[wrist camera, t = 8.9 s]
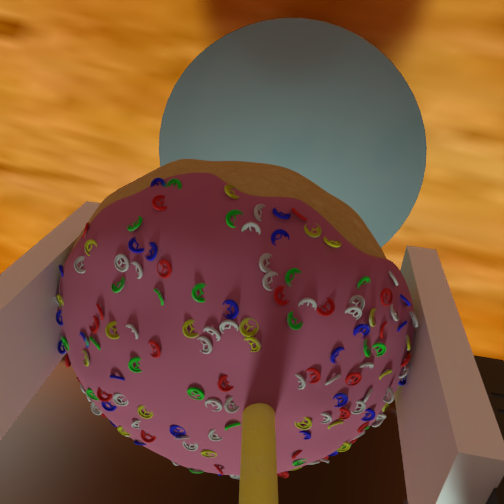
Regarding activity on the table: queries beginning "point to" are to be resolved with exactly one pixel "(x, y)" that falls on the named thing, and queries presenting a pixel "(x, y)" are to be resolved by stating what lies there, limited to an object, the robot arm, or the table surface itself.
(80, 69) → the table surface
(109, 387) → the cupcake
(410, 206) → the cake stand
